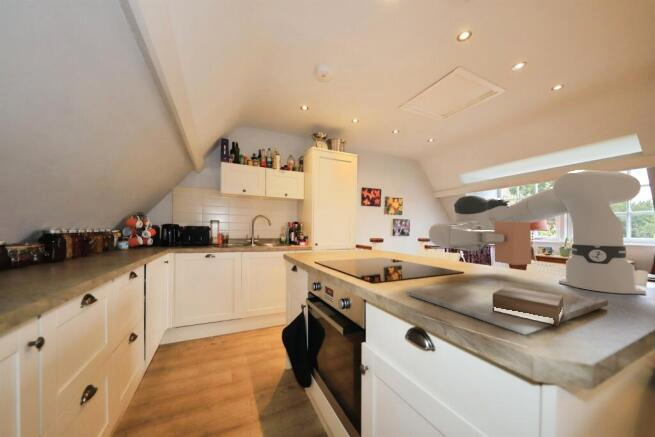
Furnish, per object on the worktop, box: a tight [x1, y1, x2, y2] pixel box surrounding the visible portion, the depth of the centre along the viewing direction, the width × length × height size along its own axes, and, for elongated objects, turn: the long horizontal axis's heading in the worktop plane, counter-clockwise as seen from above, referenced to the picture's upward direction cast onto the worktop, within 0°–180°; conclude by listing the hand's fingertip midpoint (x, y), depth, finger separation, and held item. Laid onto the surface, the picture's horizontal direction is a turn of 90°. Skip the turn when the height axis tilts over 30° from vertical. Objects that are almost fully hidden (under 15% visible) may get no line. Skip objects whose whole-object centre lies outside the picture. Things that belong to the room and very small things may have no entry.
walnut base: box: [492, 286, 564, 327], centre depth 55 cm, size 11×11×4 cm
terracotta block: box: [494, 222, 532, 266], centre depth 59 cm, size 5×5×10 cm
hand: (515, 238), depth 58 cm, fingers closed on terracotta block, 5 cm apart
